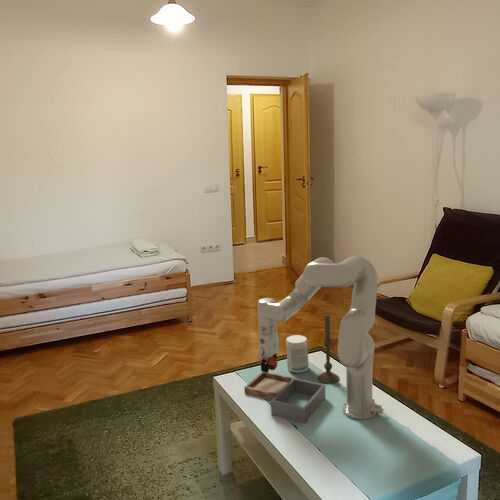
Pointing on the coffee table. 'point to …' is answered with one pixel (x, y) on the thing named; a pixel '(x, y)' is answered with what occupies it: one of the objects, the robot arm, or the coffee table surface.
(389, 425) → the coffee table surface
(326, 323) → the candlestick holder
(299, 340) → the supplement tub
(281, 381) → the tray
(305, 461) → the coffee table surface
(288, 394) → the grey open box
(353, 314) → the robot arm
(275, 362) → the pomegranate
